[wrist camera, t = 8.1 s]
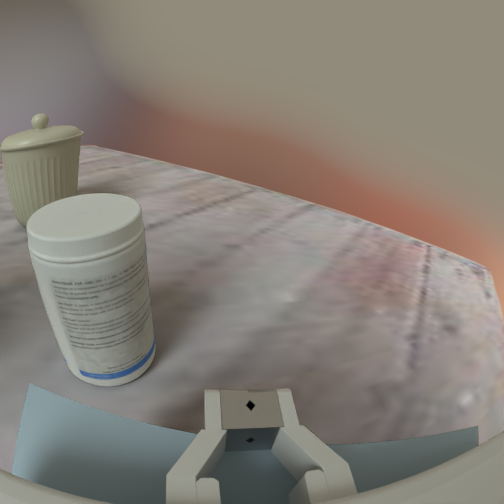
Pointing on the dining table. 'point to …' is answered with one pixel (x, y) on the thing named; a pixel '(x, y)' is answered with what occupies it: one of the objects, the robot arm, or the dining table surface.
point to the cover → (174, 445)
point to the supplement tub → (95, 284)
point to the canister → (40, 166)
